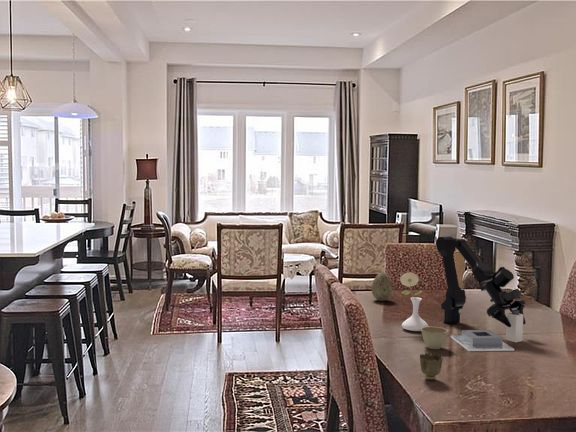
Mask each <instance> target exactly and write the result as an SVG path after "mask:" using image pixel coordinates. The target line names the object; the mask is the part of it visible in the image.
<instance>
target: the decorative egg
mask: <svg viewBox="0 0 576 432" xmlns="http://www.w3.org/2000/svg"><path fill="white" fill-rule="evenodd" d="M371 293H372V296H373V297H374V299H375V300H377V301H380V302H385V301H387V300H389V299H390V297H391V296H392V294H393V283H392V280H391V277H389V275H388V274H387V273H386V272H383V271H382V272H380V273H378V274H377V275H376V276H375V278H373V281H372V284H371Z"/></svg>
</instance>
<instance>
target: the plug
mask: <svg viewBox="0 0 576 432" xmlns="http://www.w3.org/2000/svg"><path fill="white" fill-rule="evenodd" d="M523 314H524V313H523ZM523 314H519V310H512V312H508V313H507V314H506V317H507V318H508V320H509V322H510V324H511V327H508V326H506V331H505V333H506V336H505V337H506V339H505V340H506V341H509V342H512V343H518V342H520V343H521V342H522V341H523V334H524V333H523V331H524V330H523V329H524V324H523Z"/></svg>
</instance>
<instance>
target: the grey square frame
mask: <svg viewBox="0 0 576 432" xmlns="http://www.w3.org/2000/svg"><path fill="white" fill-rule="evenodd" d="M450 338H451V339H452V340H454V341H455V342H457V343H458V344H459V345H460V346H461V347H463V348H464V349H465V350H466V351H467V352H514V351H515V348H513V347H512V346H511V345H509V344H507V343H506V342H504V341H503V339H504V338H503V337H502V336H500V335H499V334H497V333H496V332H494V331H493V330H491V329H461V334H459V335H458V334H451V335H450Z"/></svg>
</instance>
